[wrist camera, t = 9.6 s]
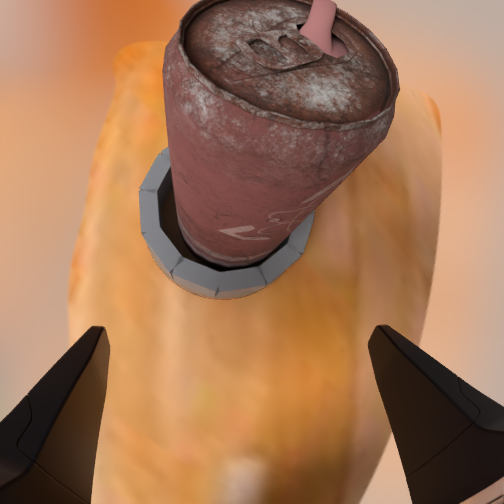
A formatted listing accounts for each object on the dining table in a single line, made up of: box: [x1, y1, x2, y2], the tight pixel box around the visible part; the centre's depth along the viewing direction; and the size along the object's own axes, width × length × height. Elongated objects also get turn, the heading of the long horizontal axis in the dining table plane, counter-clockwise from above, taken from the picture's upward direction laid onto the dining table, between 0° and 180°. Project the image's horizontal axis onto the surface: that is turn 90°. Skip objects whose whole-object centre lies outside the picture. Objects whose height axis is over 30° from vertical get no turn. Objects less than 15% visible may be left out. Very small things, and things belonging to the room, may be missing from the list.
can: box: [162, 0, 400, 271], centre depth 13 cm, size 6×6×14 cm
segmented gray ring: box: [139, 147, 315, 300], centre depth 19 cm, size 10×10×4 cm
